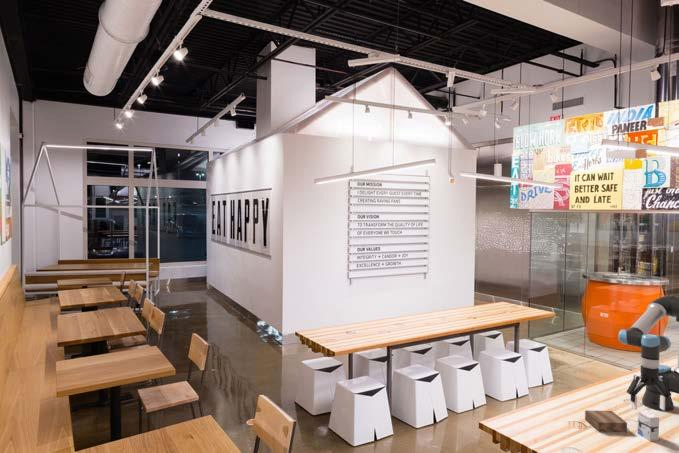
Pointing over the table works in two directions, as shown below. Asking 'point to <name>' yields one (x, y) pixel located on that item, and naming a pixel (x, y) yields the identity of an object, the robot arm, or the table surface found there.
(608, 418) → the walnut pedestal
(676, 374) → the robot arm
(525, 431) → the table surface
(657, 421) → the ink box
